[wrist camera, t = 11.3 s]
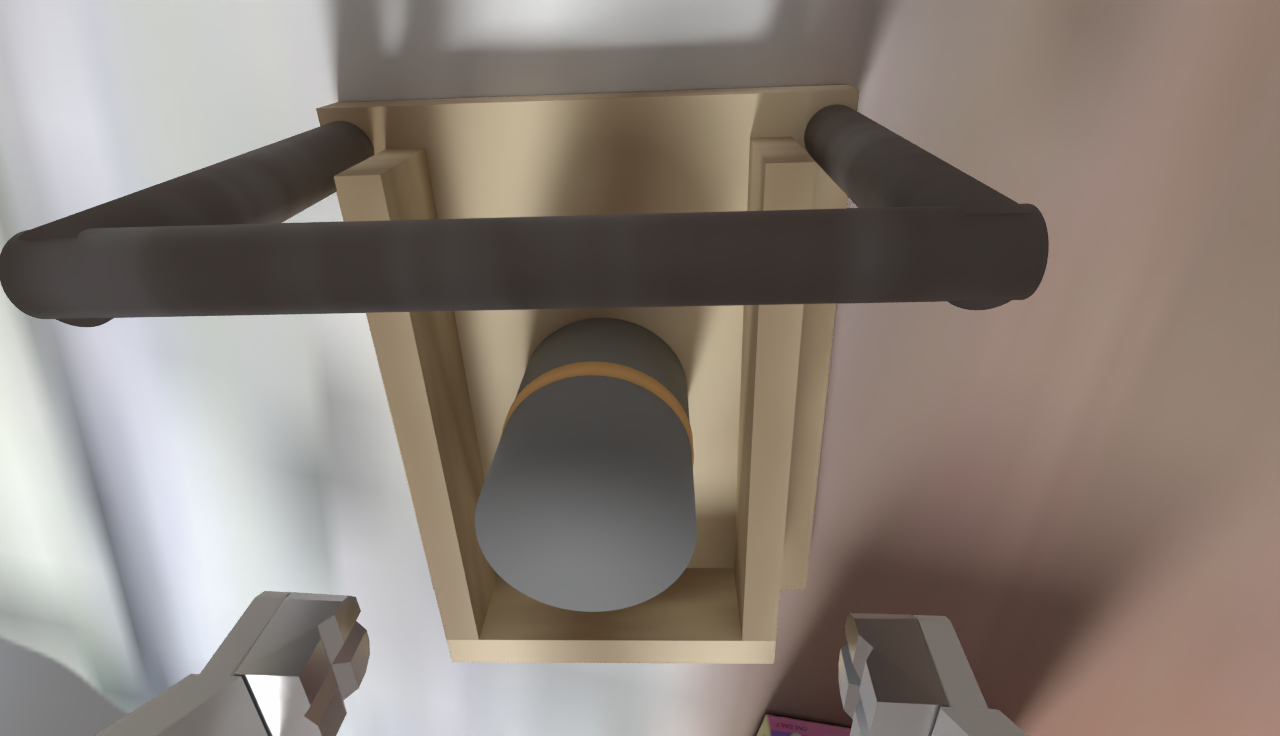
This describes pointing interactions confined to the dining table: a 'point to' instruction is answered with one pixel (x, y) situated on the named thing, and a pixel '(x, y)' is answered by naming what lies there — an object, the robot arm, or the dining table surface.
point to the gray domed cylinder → (593, 472)
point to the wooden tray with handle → (571, 302)
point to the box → (798, 728)
